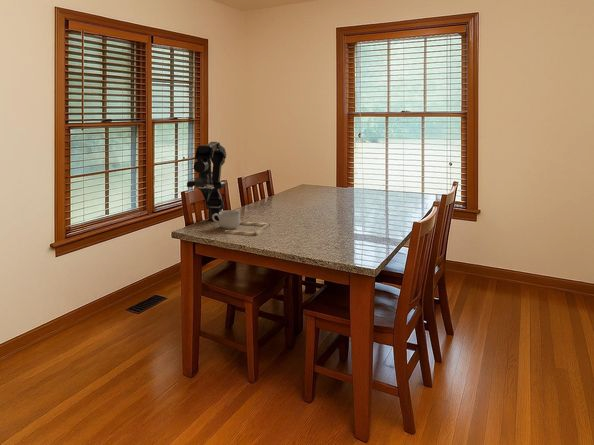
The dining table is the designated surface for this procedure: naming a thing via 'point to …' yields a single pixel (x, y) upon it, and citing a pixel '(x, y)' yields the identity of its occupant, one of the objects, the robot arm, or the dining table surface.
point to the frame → (265, 225)
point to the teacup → (228, 219)
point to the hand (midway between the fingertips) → (206, 201)
